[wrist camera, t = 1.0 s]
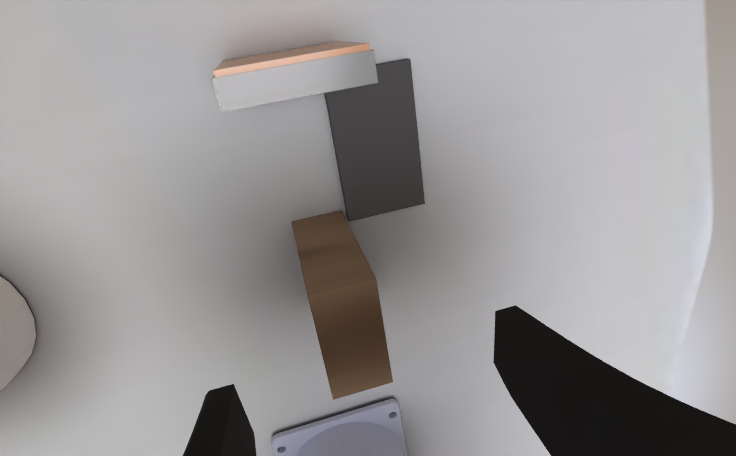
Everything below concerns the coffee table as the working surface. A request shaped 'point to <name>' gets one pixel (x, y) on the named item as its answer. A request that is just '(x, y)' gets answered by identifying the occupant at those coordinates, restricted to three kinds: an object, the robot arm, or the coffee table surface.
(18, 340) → the cream vase
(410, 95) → the pad
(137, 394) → the coffee table surface
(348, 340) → the brown wooden block
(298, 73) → the tile
